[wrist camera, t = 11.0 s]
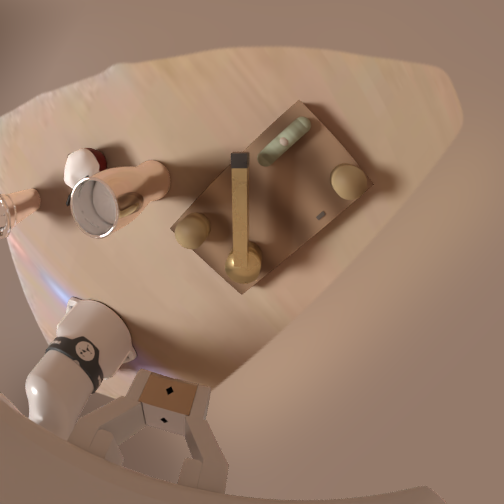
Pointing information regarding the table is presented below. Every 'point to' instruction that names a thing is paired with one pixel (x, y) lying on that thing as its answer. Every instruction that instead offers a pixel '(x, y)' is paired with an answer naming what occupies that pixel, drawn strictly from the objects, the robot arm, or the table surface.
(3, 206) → the cup with straw
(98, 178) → the beer glass
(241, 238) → the lever handle
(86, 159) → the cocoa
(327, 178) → the levelling base
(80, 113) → the table surface
